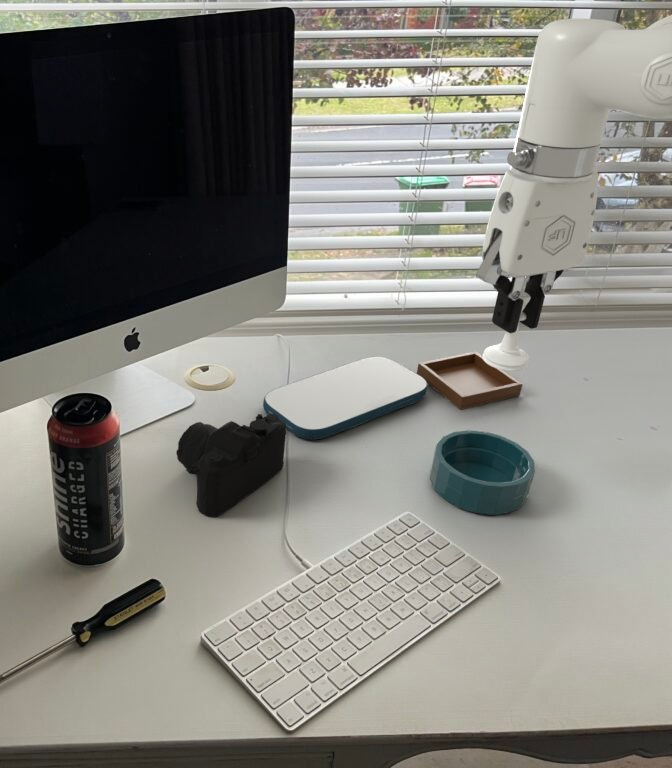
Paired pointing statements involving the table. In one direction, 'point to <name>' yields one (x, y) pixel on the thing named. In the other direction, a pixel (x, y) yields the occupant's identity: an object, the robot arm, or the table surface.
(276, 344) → the table surface
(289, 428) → the external hard drive
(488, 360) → the chess piece
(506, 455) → the dish
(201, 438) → the film camera
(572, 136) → the robot arm
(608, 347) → the table surface
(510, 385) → the tray
